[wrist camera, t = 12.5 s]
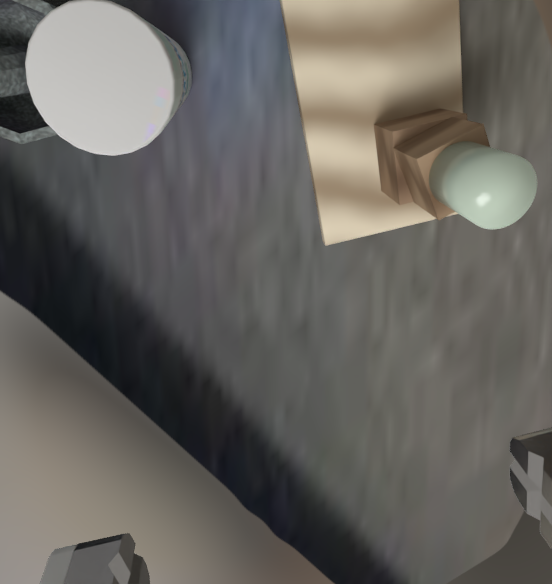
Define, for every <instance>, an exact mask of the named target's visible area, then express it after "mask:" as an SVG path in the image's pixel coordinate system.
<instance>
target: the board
mask: <svg viewBox="0 0 552 584" xmlns="http://www.w3.org/2000/svg"><path fill="white" fill-rule="evenodd" d="M280 5H281V10H282V16H283V21H284V27H285V33H286V38H287V44H288V49H289V55H290V60H291V66H292V71H293V77H294V83H295V88H296V94H297V99H298V105H299V110H300V116H301V122H302V127H303V133H304V138H305V144H306V149H307V155H308V160H309V166H310V172H311V177H312V183H313V188H314V194H315V199H316V205H317V211H318V216H319V222H320V227H321V233H322V238H323V242H324V244H325V246H326V245H330V244H334V243H339V242H343V241H347V240H351V239H355V238H359V237H363V236H368V235H372V234H376V233H380V232H384V231H388V230H392V229H396V228H401V227H405V226H409V225H413V224H417V223H421V222H425V221H430V220H434V219H436V218H435V217H434V216H432V215H431V214H429V213H428V212H427V211H425V210H424V209H422V208H421V207H420V206H418V205H417V204H415V203H414V202H411V203H407V204H403V205H399V204H398V203H396V202H395V201H394V200H392V199H391V198H390V197H389V196H387V195H386V194H385V193H383V192H382V191H381V184H380V175H379V166H378V158H377V149H376V141H375V132H374V124H378V123H382V122H386V121H390V120H394V119H398V118H403V117H407V116H411V115H415V114H419V113H423V112H427V111H432V110H436V109H440V108H441V109H446V110H451V111H456V112H461V113H463V99H462V71H461V43H460V16H459V0H280ZM454 214H458V213H457V212H454V213H452V214H450V215H454ZM450 215H448V216H450Z"/></svg>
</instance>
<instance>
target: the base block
mask: <svg viewBox="0 0 552 584" xmlns="http://www.w3.org/2000/svg"><path fill="white" fill-rule="evenodd" d="M450 117H455V118H459V119H463V120H467V114H465V113H461V112H456V111H451V110H446V109H441V108H440V109H436V110H432V111H427V112H423V113H419V114H415V115H411V116H407V117H403V118H398V119H394V120H390V121H386V122H382V123H378V124H374V132H375V141H376V149H377V158H378V166H379V175H380V184H381V191H382V192H383V193H385V194H386V195H387V196H389V197H390V198H391V199H392V200H394V201H395V202H396V203H398V204H399V205H403V204H407V203H411V202H414V201H413V199H412V196H411V194H410V191H409V188H408V186H407V183H406V181H405V178H404V175H403V173H402V170H401V167H400V165H399V162H398V160H397V157H396V154H395V152H394V149H393V148H394V147H396V146H398V145H400V144H401V143H403V142H405V141H407V140H409V139H411V138H413V137H415V136H416V135H418V134H420V133H422V132H424V131H426V130H428V129H430V128H431V127H433V126H435V125H437V124H439V123H441V122H443V121H445V120H446V119H448V118H450Z"/></svg>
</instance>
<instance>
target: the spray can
mask: <svg viewBox="0 0 552 584" xmlns="http://www.w3.org/2000/svg"><path fill="white" fill-rule="evenodd" d="M25 68H26V78H27V85H28V88H29V91H30V94H31V97H32V99H33V102H34V105H35V106H36V108H37V109H38V111H39V113H40V114H41V116H42V117H43V119H44V121H45V122H46V123H47V124H48V125H49V126H50V127H51V128H52V129H53V130H54V131H55V132H56V133H57V134H58V135H59V136H60V137H61V138H63V139H64V140H66V141H68V142H69V143H71V144H72V145H74V146H75V147H77V148H80V149H83V150H86V151H88V152H91V153H94V154H102V155H113V156H115V155H120V154H126V153H132V152H134V151H136V150H138V149H140V148H142V147H144V146H146V145H148V144H149V143H150V142H151V141H152V140H153V139H155V138H156V137H157V136H158V135H159V134H160V133H161V132H162V131H163V129H164V128H165V126H166V125H167V124H168V122H169V121H170V120H171V118H172V117H173V116H174V114H175V113H176V112H177V110H178V109H179V108H180V106H181V105H182V104H183V102H184V101H185V99H186V98H187V96H188V94H189V91H190V88H191V84H192V71H191V67H190V62H189V60H188V58H187V56H186V54H185V52H184V50H183V49H182V48H181V47H180V45H179V44H178V43H177V42H176V41H174V40H173V39H172V38H170V37H169V36H168V35H166V34H165V33H163V32H162V31H160V30H159V29H157V28H156V27H155V26H153V25H152V24H150V23H149V22H147V21H146V20H145V19H143V18H142V17H140V16H139V15H137V14H136V13H134V12H133V11H132V10H130V9H128V8H125V7H123V6H121V5H118V4H116V3H114V2H111V1H107V0H73V1H68V2H66V3H64V4H62V5H61V6H59V7H57V8H55V9H53V10H51V11H50V12H49V13H48V14H47V15H46V16H45V17H44V18H43V19H42V20H41V21H40V22H39V23H38V24H37V26H36V28H35V30H34V32H33V34H32V36H31V38H30V40H29V42H28V48H27V54H26V60H25Z"/></svg>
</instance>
